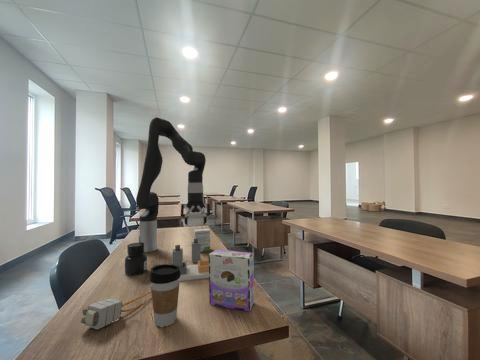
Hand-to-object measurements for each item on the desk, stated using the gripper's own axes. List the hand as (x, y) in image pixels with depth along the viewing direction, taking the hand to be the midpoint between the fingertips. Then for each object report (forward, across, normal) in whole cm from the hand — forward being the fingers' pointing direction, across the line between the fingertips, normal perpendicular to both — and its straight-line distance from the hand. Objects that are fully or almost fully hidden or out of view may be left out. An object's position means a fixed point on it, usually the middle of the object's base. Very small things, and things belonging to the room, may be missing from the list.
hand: (195, 224), depth 111 cm
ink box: (+18, -4, -16) cm, 25 cm away
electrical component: (+18, +22, +37) cm, 47 cm away
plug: (+18, 0, 0) cm, 18 cm away
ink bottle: (+18, +26, +7) cm, 32 cm away
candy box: (+18, -10, +42) cm, 47 cm away
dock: (+18, +2, +15) cm, 24 cm away
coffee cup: (+18, +10, +46) cm, 50 cm away
